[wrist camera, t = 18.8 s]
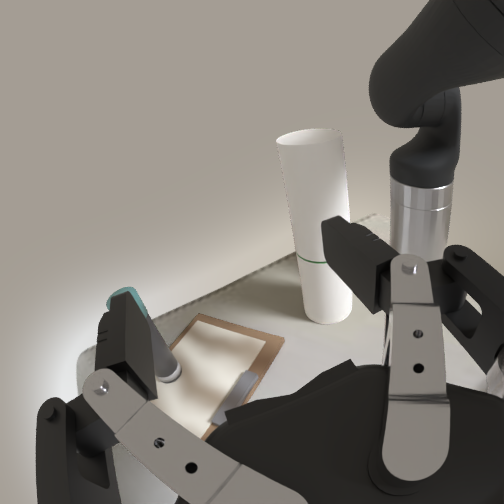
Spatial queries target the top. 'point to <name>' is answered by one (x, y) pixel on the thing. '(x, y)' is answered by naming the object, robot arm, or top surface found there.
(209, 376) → the clipboard
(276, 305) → the top surface
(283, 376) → the top surface
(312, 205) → the cylindrical container
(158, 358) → the marker
